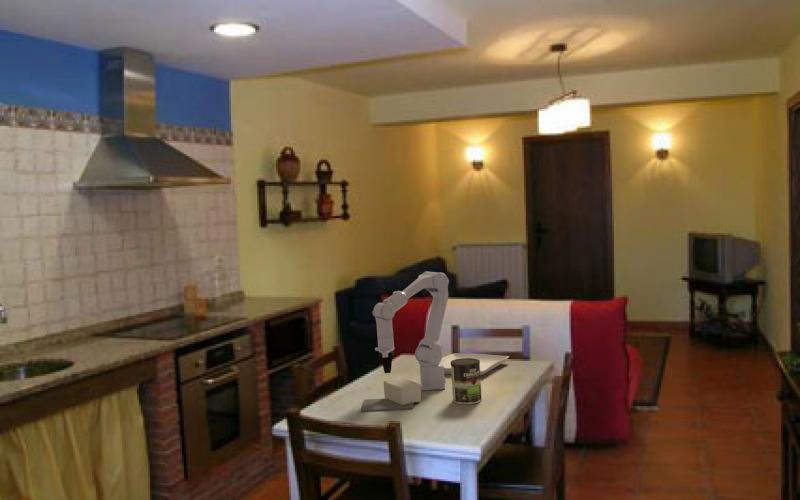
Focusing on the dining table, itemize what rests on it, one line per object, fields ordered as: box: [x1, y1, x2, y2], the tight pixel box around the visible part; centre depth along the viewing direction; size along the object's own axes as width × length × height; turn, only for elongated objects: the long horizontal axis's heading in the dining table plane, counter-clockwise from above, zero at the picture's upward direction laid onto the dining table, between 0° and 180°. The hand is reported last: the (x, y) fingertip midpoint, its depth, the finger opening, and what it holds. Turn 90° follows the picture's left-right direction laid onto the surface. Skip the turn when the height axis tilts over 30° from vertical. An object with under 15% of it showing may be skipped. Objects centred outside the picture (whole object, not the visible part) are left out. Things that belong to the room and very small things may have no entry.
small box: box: [383, 377, 422, 405], centre depth 259 cm, size 8×6×13 cm
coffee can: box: [450, 358, 483, 406], centre depth 254 cm, size 10×10×14 cm
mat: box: [360, 397, 415, 413], centre depth 255 cm, size 18×13×1 cm
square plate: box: [439, 353, 510, 376], centre depth 301 cm, size 27×27×4 cm
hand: (387, 372), depth 264 cm, fingers closed
